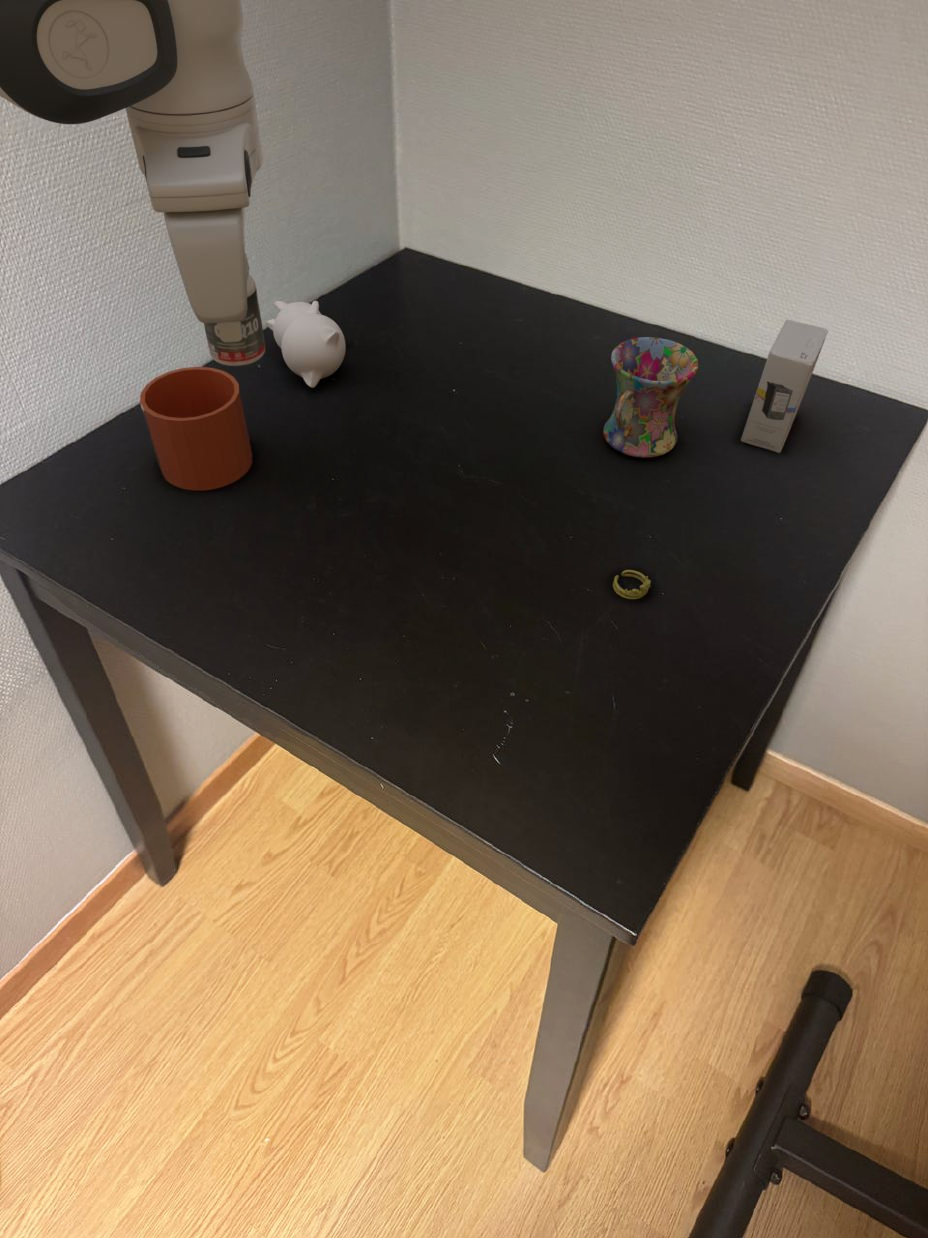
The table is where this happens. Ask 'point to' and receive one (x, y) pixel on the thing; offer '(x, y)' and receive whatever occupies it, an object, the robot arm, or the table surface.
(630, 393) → the mug
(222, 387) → the cup
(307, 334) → the cat figurine
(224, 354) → the pill bottle
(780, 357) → the ink box
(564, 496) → the table surface
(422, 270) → the table surface
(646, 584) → the ring
